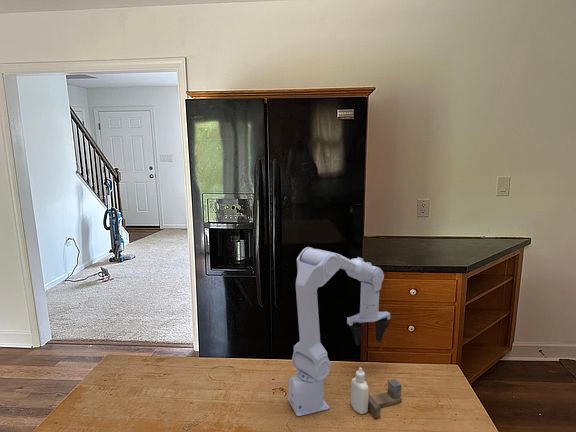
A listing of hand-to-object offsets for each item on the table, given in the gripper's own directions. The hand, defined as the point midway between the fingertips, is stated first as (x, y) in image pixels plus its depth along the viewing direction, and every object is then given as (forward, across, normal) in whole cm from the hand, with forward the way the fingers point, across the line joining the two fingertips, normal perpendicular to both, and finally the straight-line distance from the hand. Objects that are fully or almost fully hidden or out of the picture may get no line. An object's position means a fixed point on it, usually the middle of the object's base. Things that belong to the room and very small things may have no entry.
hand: (368, 342), depth 124 cm
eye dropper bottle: (+10, +12, +16) cm, 22 cm away
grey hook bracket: (+9, +5, +16) cm, 19 cm away
